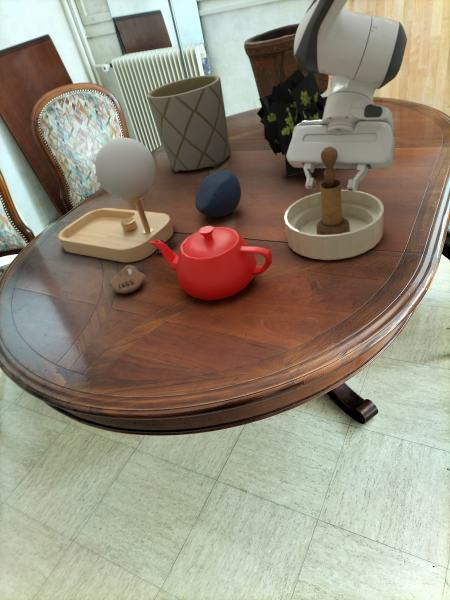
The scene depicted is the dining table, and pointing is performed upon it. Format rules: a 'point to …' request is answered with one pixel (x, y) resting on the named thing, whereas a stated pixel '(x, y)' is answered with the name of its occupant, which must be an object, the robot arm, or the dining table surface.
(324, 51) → the robot arm
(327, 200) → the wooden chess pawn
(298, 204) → the bowl
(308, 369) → the dining table surface
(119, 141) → the lamp
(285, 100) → the potted plant
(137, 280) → the oil lamp
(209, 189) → the decorative stone
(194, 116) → the planter
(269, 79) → the clay pot
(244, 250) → the teapot
